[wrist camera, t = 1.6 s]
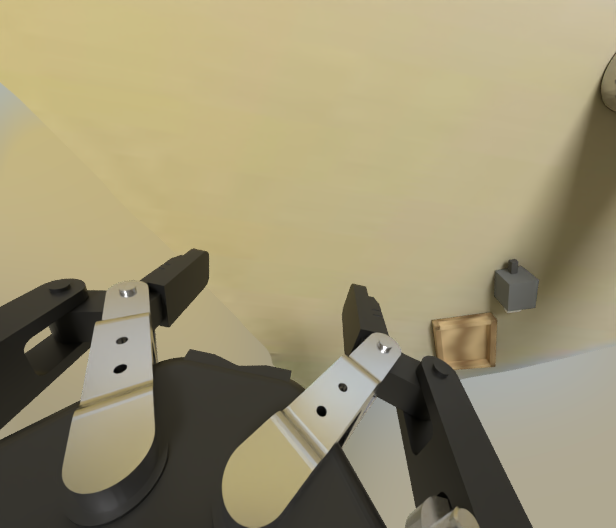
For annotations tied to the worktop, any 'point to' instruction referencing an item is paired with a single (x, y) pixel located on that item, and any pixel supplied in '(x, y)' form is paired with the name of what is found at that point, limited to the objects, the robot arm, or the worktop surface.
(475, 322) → the tray
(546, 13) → the worktop surface
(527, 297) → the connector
